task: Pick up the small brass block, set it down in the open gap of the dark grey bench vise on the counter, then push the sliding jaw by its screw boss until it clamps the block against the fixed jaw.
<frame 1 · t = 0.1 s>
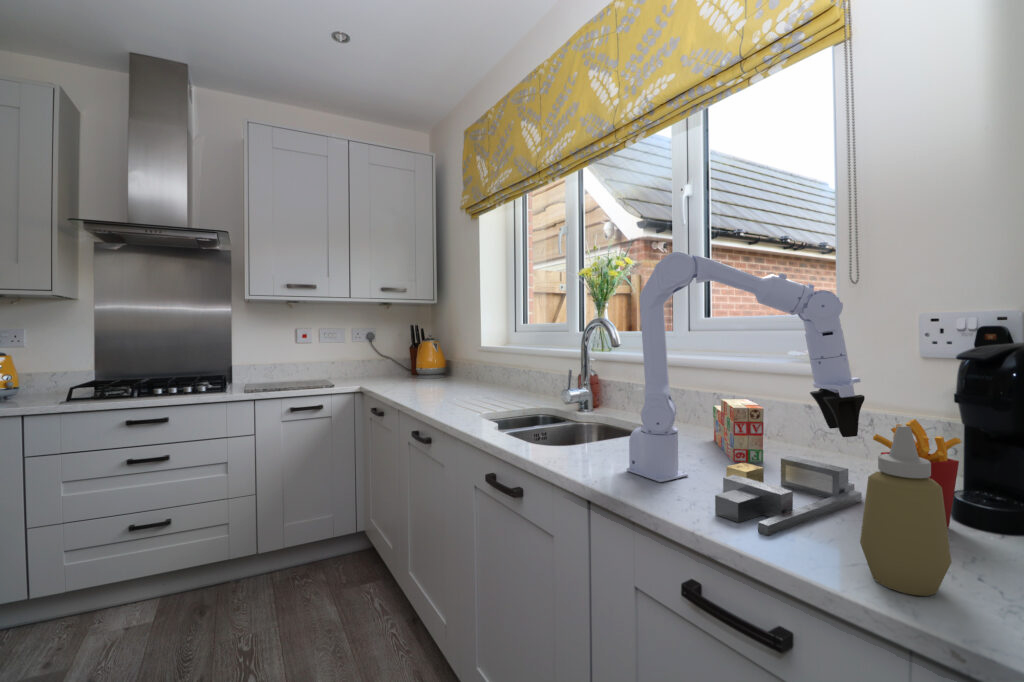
hand: (842, 431, 86), 11 cm above the worktop, tool pointing down, fingers open, 7 cm apart
brass block: (744, 488, 89), on the worktop
squeeze bottle: (903, 585, 55), on the worktop
sliding jaw: (744, 499, 77), point 2 cm above the worktop, slide at 0.0 cm
vise: (813, 491, 86), on the worktop
french fries: (907, 521, 73), on the worktop
stack of blocks: (736, 451, 116), on the worktop
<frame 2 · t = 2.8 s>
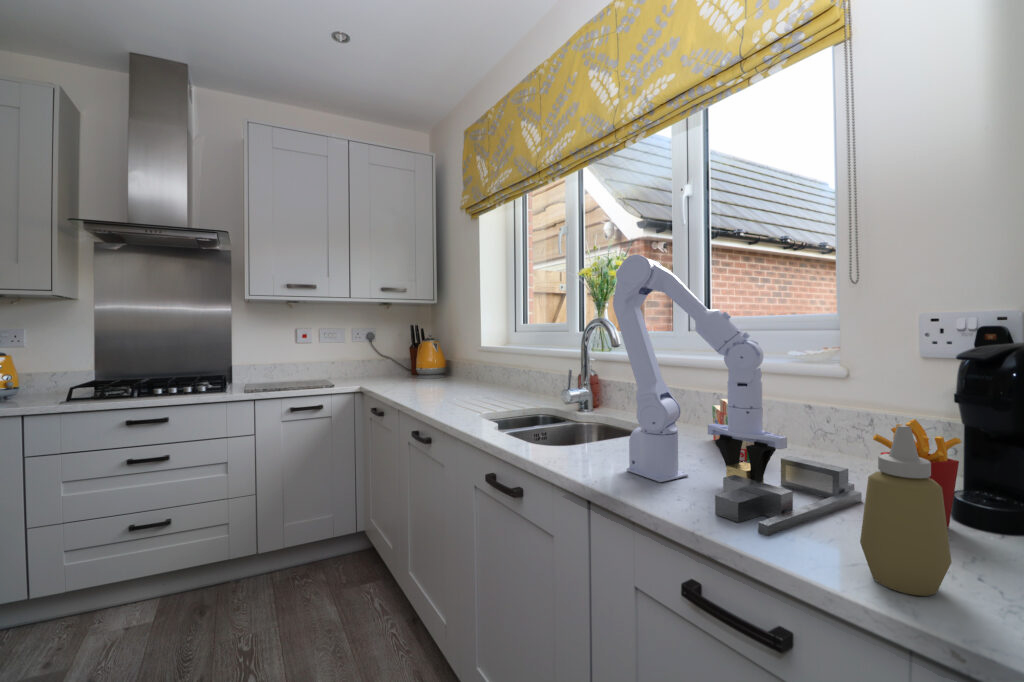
hand: (744, 480, 89), 1 cm above the worktop, tool pointing down, fingers closed on brass block, 4 cm apart
brass block: (744, 487, 89), on the worktop, touching gripper
everything else where it was.
when the fingers open (2 cm above the worktop, at t = 6.5 s): brass block stays where it is, on the worktop.
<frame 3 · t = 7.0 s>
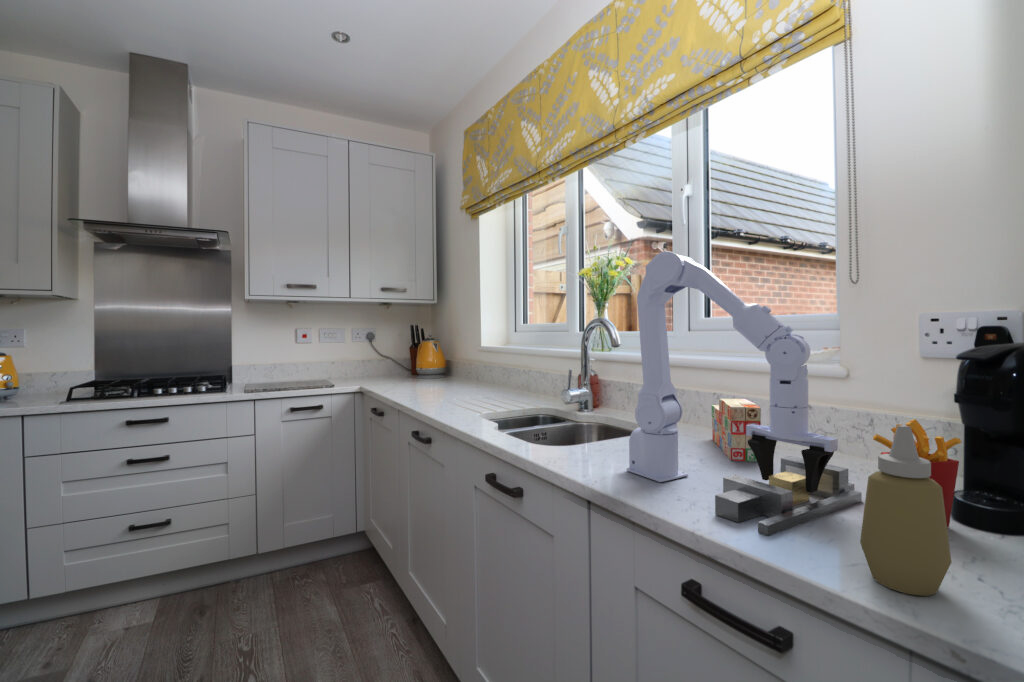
hand: (788, 484, 82), 2 cm above the worktop, tool pointing down, fingers open, 7 cm apart
brass block: (788, 499, 83), on the worktop
everything else where it was.
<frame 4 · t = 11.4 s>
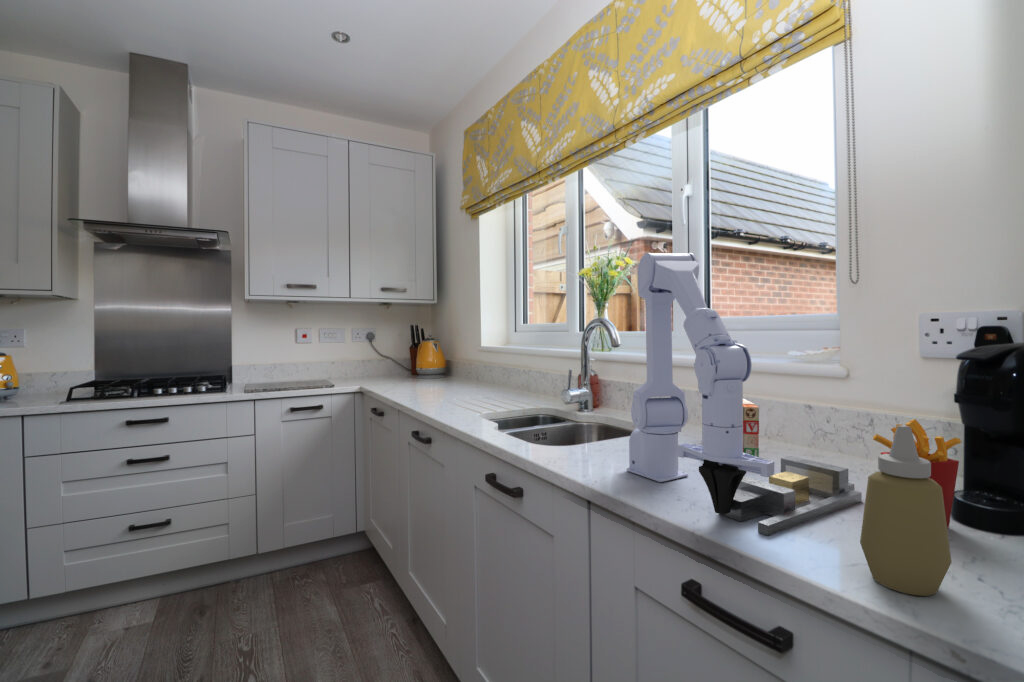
hand: (722, 512, 74), 1 cm above the worktop, tool pointing down, fingers closed
sliding jaw: (747, 499, 77), point 2 cm above the worktop, slide at 0.7 cm, touching gripper
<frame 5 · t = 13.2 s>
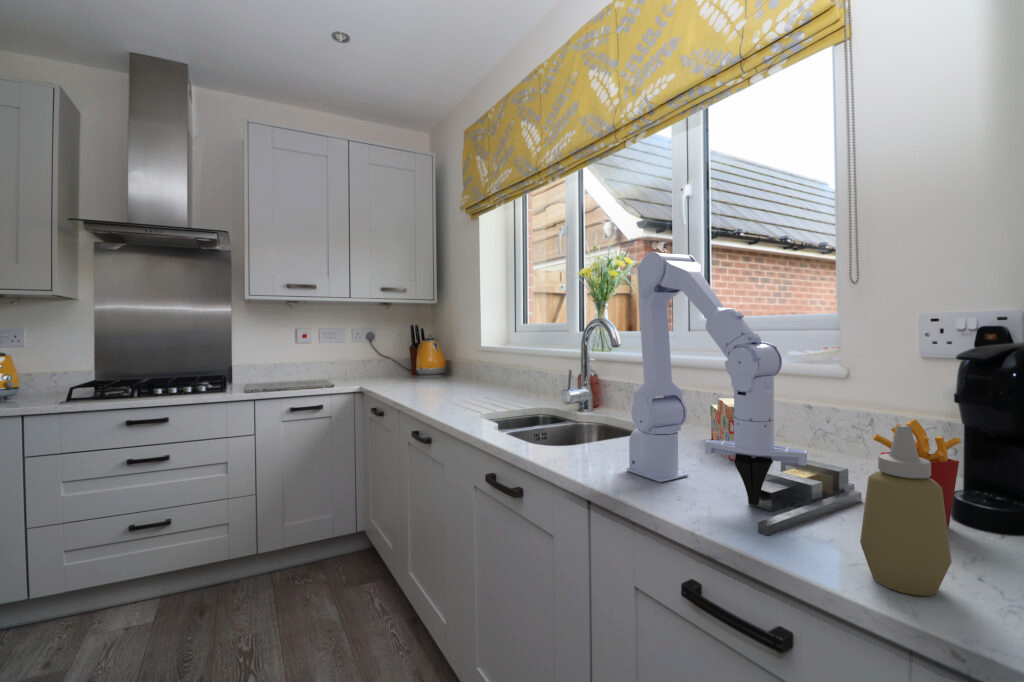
hand: (754, 503, 78), 1 cm above the worktop, tool pointing down, fingers closed
brass block: (800, 495, 84), on the worktop, touching sliding jaw, vise
sliding jaw: (776, 490, 81), point 2 cm above the worktop, slide at 8.3 cm, touching brass block, gripper
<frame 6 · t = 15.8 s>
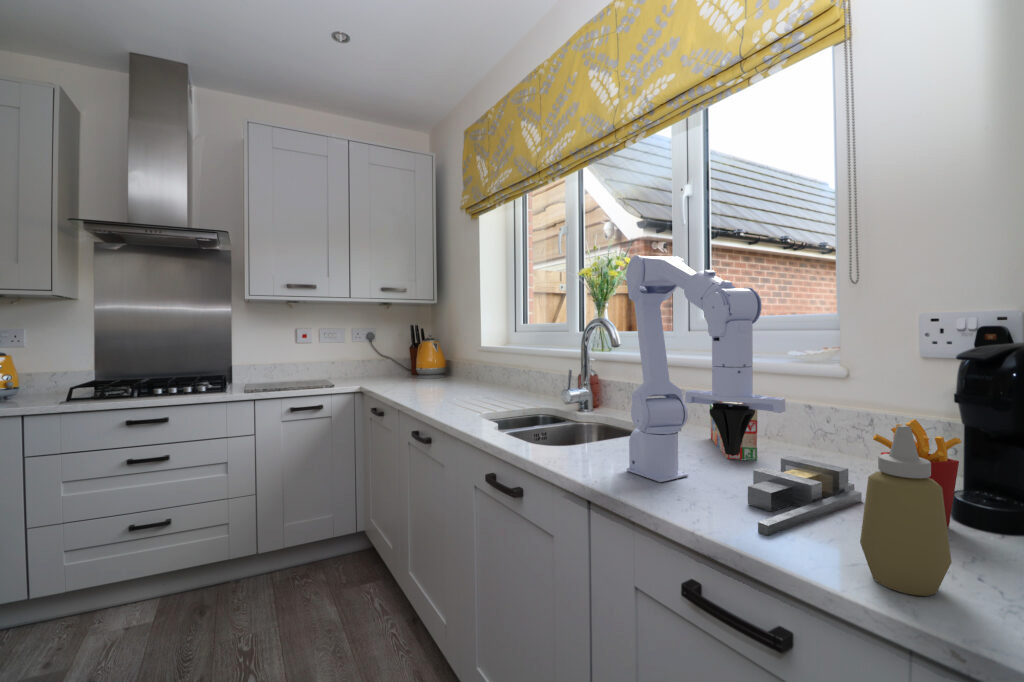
hand: (732, 453, 75), 10 cm above the worktop, tool pointing down, fingers closed
brass block: (799, 496, 84), on the worktop
sliding jaw: (775, 490, 81), point 2 cm above the worktop, slide at 8.2 cm
at the end: brass block 0.1 cm from the target spot, on the worktop; sliding jaw slide at 8.2 cm; brass block tilted 0° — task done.
